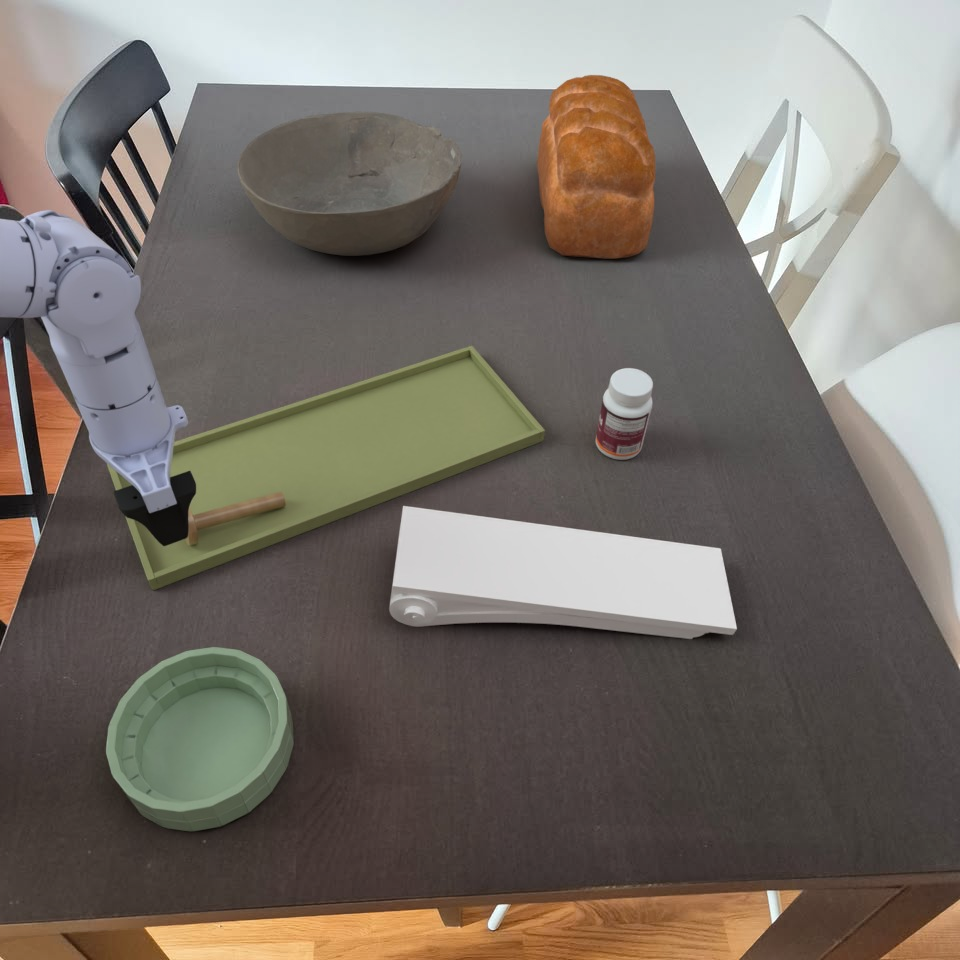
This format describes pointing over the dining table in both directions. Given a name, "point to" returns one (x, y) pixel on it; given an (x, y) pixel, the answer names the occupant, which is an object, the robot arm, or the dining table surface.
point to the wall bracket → (554, 577)
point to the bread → (596, 170)
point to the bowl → (350, 180)
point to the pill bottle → (624, 414)
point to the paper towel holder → (231, 514)
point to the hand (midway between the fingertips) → (162, 507)
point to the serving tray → (338, 456)
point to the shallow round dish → (201, 738)
